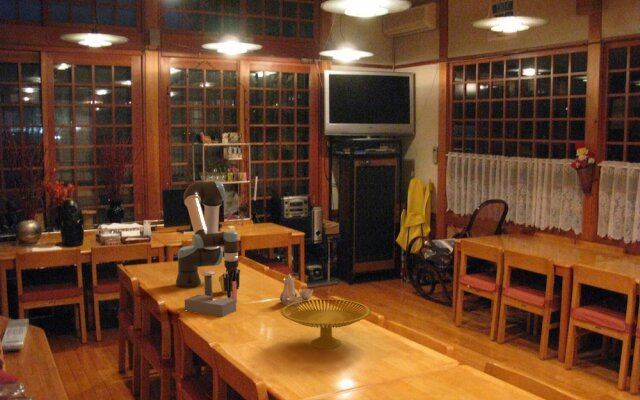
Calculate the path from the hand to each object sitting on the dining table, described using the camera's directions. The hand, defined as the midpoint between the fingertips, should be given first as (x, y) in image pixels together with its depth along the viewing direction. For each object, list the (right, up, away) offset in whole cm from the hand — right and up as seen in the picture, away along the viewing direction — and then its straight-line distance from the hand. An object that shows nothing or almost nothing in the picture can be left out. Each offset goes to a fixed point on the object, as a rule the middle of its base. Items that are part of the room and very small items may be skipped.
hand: (232, 302), depth 356 cm
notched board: (-9, -2, -14) cm, 17 cm away
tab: (0, -1, 0) cm, 1 cm away
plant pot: (-6, +2, +24) cm, 25 cm away
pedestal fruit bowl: (+50, -8, -66) cm, 83 cm away
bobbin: (-13, -1, +1) cm, 13 cm away
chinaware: (+34, -1, 0) cm, 34 cm away
